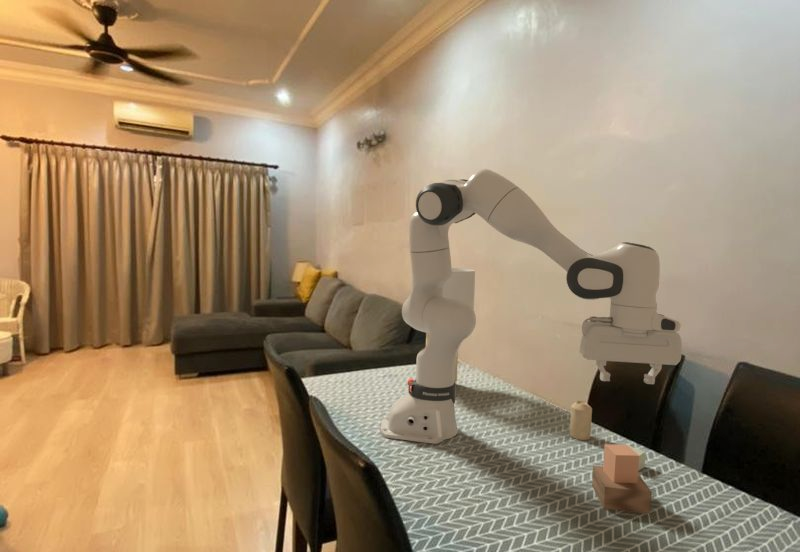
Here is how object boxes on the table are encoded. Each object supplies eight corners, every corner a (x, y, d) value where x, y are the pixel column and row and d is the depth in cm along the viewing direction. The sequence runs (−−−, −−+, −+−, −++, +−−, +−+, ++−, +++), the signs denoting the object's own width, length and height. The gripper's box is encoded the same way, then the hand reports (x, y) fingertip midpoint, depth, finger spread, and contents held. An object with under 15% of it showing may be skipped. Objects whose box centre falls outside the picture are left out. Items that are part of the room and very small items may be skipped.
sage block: (614, 465, 112) (615, 449, 112) (624, 459, 115) (625, 444, 115) (635, 473, 108) (636, 457, 108) (644, 467, 111) (645, 451, 111)
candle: (592, 441, 125) (594, 406, 124) (571, 439, 126) (573, 404, 125) (588, 433, 130) (590, 399, 129) (568, 431, 131) (570, 398, 131)
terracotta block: (613, 482, 94) (615, 455, 94) (602, 470, 99) (604, 444, 99) (637, 482, 94) (639, 455, 94) (625, 470, 99) (626, 444, 99)
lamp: (407, 376, 181) (410, 267, 177) (462, 376, 183) (466, 268, 180) (415, 396, 158) (419, 270, 155) (478, 395, 160) (482, 272, 157)
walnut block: (603, 509, 93) (605, 486, 93) (591, 486, 102) (593, 465, 101) (649, 515, 92) (651, 491, 91) (633, 491, 100) (635, 469, 100)
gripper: (588, 318, 93) (583, 383, 94) (688, 323, 92) (682, 389, 93) (577, 313, 99) (573, 374, 100) (671, 319, 99) (665, 380, 99)
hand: (626, 382), depth 97 cm, fingers open, 8 cm apart
